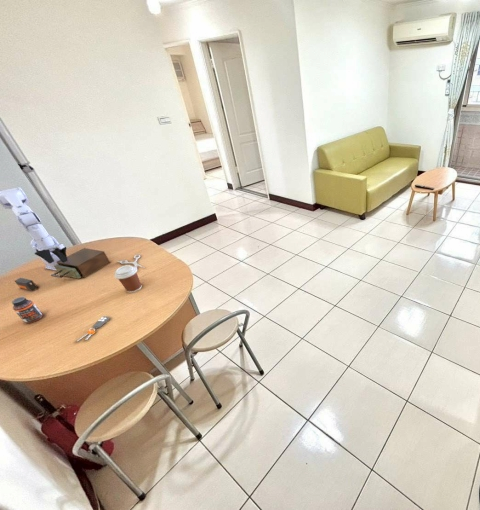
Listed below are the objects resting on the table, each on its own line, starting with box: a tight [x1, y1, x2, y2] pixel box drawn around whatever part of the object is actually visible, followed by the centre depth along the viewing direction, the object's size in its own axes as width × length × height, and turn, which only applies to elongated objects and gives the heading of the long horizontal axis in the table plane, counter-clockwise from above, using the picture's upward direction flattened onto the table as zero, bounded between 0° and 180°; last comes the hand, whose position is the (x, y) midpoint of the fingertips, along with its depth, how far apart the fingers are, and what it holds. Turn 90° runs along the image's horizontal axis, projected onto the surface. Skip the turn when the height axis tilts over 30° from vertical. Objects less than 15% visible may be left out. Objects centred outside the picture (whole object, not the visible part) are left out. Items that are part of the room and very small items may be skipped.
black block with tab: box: [14, 277, 39, 292], centre depth 137 cm, size 9×3×5 cm, turn 75°
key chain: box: [76, 315, 110, 342], centre depth 115 cm, size 13×4×2 cm, turn 174°
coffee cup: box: [114, 264, 143, 293], centre depth 134 cm, size 9×9×12 cm
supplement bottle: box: [11, 296, 44, 324], centre depth 118 cm, size 6×6×11 cm
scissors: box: [117, 254, 144, 270], centre depth 155 cm, size 11×1×20 cm
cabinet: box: [57, 247, 111, 279], centre depth 150 cm, size 15×15×8 cm
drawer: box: [50, 264, 82, 280], centre depth 146 cm, size 18×13×6 cm
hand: (58, 261), depth 137 cm, fingers open, 7 cm apart
